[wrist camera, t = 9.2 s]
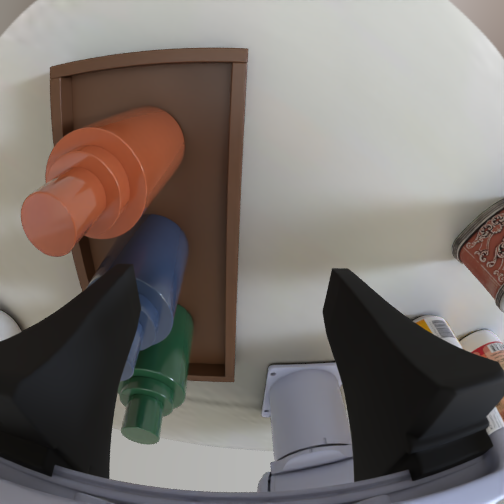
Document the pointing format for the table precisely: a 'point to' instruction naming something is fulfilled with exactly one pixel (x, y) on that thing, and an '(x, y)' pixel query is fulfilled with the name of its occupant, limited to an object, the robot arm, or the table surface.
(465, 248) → the lighter
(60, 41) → the table surface
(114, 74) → the tray
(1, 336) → the teacup
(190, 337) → the green bottle
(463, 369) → the robot arm
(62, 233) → the terracotta bottle
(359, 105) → the table surface
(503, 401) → the fruit juice
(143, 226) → the slate-blue bottle
